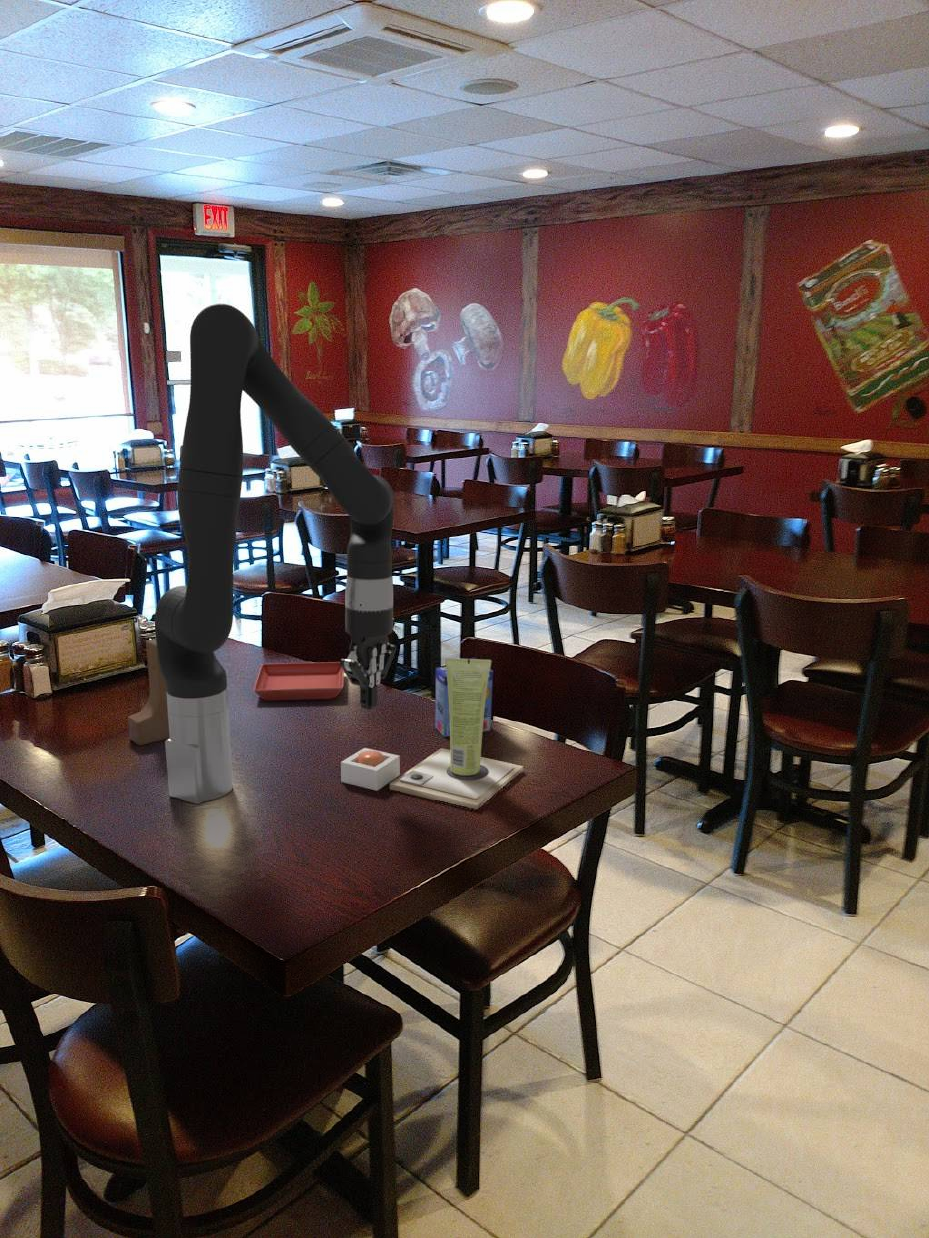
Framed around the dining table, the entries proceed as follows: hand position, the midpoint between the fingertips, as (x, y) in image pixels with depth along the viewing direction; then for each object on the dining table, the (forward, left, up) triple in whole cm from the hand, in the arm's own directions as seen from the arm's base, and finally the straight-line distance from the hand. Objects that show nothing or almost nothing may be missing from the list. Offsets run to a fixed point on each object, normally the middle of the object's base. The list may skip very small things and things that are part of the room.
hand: (368, 707), depth 158 cm
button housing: (+1, 0, -13) cm, 13 cm away
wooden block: (-3, +44, -13) cm, 46 cm away
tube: (+8, -14, -12) cm, 20 cm away
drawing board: (+7, -13, -13) cm, 19 cm away
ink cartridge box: (+28, -3, -13) cm, 31 cm away
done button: (+1, 0, -12) cm, 12 cm away
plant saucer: (+32, +38, -14) cm, 52 cm away
